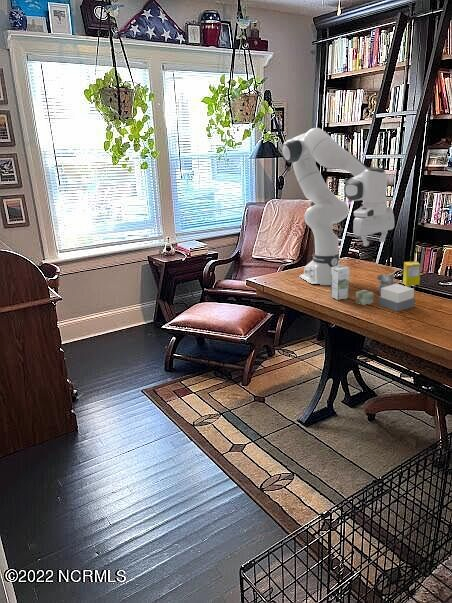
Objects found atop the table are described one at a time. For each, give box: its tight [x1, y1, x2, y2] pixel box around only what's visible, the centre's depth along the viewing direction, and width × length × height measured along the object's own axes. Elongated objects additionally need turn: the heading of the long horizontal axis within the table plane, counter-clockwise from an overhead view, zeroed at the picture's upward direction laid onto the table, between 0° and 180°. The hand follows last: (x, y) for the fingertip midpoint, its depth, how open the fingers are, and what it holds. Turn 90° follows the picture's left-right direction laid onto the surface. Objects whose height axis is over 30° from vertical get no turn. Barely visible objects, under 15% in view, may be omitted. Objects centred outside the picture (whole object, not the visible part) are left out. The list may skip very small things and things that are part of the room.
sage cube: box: [355, 289, 374, 306], centre depth 193 cm, size 5×5×5 cm
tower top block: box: [380, 283, 415, 303], centre depth 186 cm, size 9×9×4 cm
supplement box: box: [402, 261, 422, 288], centre depth 208 cm, size 6×6×11 cm
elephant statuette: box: [376, 273, 398, 295], centre depth 205 cm, size 9×12×8 cm
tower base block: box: [378, 295, 416, 312], centre depth 188 cm, size 10×10×4 cm
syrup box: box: [330, 264, 350, 301], centre depth 199 cm, size 6×6×14 cm
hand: (374, 243), depth 184 cm, fingers open, 8 cm apart
